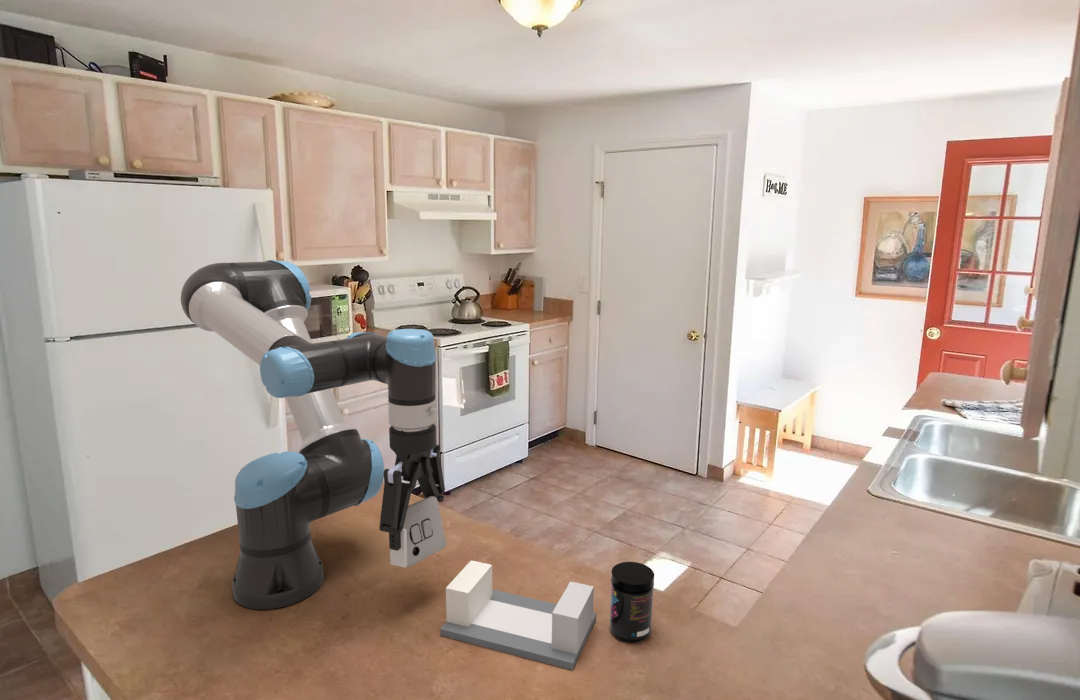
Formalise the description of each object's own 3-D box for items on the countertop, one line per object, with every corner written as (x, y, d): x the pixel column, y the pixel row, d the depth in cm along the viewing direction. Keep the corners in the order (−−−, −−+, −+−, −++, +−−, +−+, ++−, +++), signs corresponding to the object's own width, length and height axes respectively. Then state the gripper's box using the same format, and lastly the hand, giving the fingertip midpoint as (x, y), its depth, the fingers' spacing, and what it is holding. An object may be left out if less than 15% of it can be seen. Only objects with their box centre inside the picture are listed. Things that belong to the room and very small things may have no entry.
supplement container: (630, 613, 106) (632, 557, 103) (660, 634, 100) (663, 575, 98) (600, 628, 102) (602, 570, 100) (630, 651, 96) (633, 589, 94)
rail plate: (440, 635, 99) (439, 594, 98) (476, 591, 111) (476, 554, 110) (572, 670, 92) (573, 626, 90) (595, 619, 104) (597, 580, 102)
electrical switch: (405, 571, 101) (400, 516, 100) (385, 562, 105) (380, 509, 103) (447, 548, 109) (443, 497, 107) (427, 541, 112) (423, 491, 110)
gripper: (394, 450, 90) (398, 589, 95) (464, 409, 111) (464, 525, 115) (351, 443, 93) (356, 579, 97) (427, 403, 113) (429, 518, 118)
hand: (415, 550), depth 106 cm, fingers closed on electrical switch, 9 cm apart
